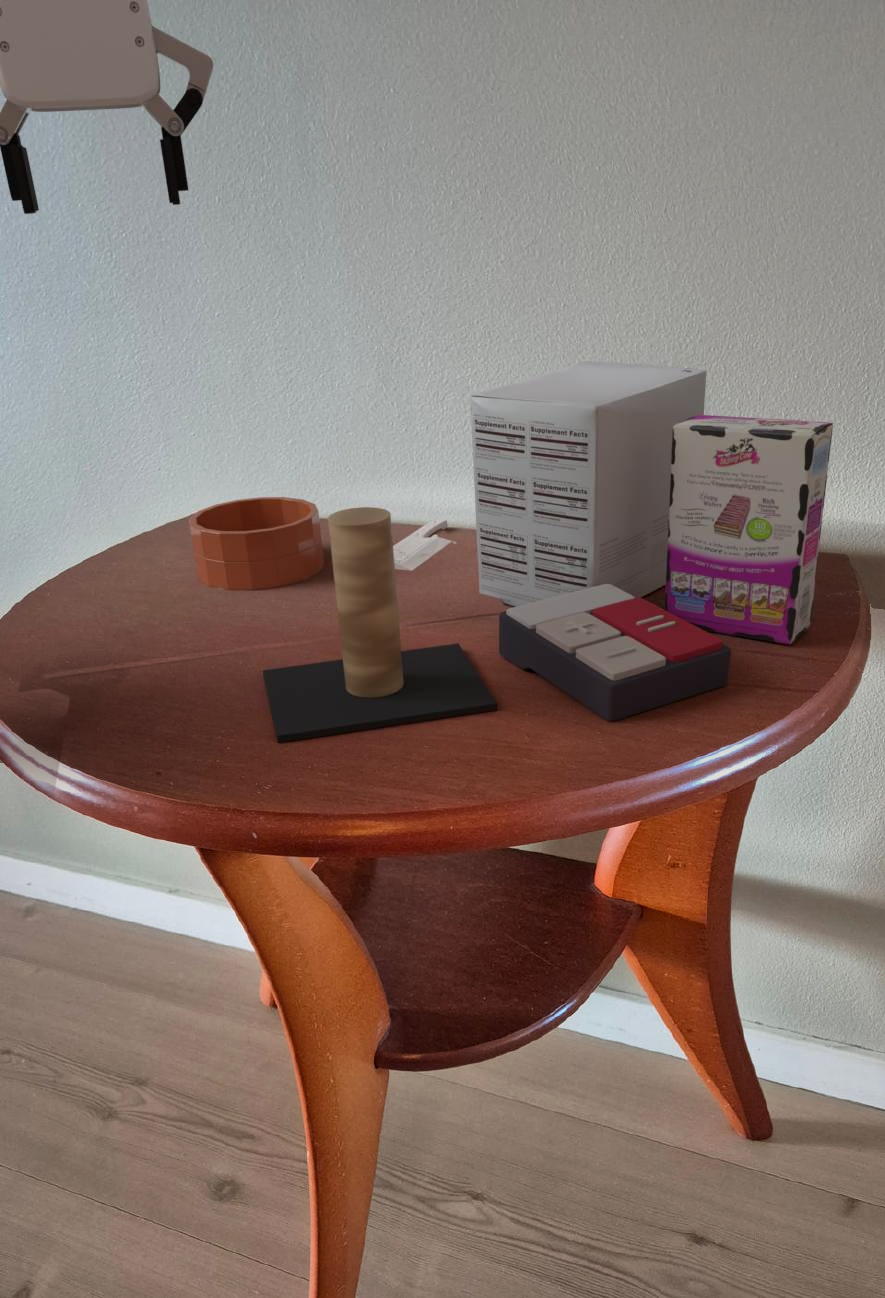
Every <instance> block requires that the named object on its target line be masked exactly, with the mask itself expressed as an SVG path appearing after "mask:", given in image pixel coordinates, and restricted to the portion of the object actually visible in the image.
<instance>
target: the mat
mask: <svg viewBox="0 0 885 1298" xmlns="http://www.w3.org/2000/svg"><path fill="white" fill-rule="evenodd" d="M401 654H402V667H403V680H404V684H403V687H402V688H401V689H400V690H399V691H397V692H395V693H393V694H390V695H387V696H383V697H375V698H365V697H358V696H355V695H352V694H350V693H349V692H348V691H347V690H346V685H345V676H344V666H343V658H342V659H334V660H327V661H321V662H312V663H306V664H299V665H292V666H285V667H283V666H282V667H275V668H270V669H263V670H262V675H263V681H264V685H265V690H266V694H267V700H268V704H269V708H270V714H271V717H272V722H273V728H274V732H275V736H276V742H277V744H279V743H280V744H281V743H286V742H287V743H288V742H293V741H301V740H306V739H312V738H313V739H314V738H320V737H327V736H333V735H341V734H347V733H353V732H358V731H359V732H360V731H366V730H367V731H368V730H373V729H380V728H386V727H387V728H388V727H394V726H400V725H406V724H413V723H419V722H426V721H433V720H440V719H447V718H454V717H460V716H467V715H474V714H480V713H486V712H492V711H493V712H495V711H498V708H499V707H498V702H497V700H496V698H495V696H493V694H492V693H491V691H490V690H489V688H488V686H487V685H486V684H485V682H484V680H483V679H482V677H481V676H480V674H479V672H478V671H477V670H476V668H475V667H474V665H473V663H472V662H471V660H470V659H469V657H468V656H467V654H466V653H465V651H464V649H463V648H462V647H461V645H460V643H450V644H444V645H436V646H429V647H421V648H415V649H414V648H413V649H408V650H407V649H406V650H401Z"/></svg>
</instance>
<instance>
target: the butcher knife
mask: <svg viewBox="0 0 885 1298" xmlns="http://www.w3.org/2000/svg"><path fill="white" fill-rule="evenodd" d="M447 528H448V520H447V519H441V518H440V519H439V518H433V519H431V520H430V521H429V522H427V523H426V524H424V525H423V526H421V527H420V528H418V529H417V530H415V531H414V532H412V533H411V534H409V535H408V536H406V537H405V538H403V539H402V540H400V541H398V542H397V543H395V544H394V545H393V552H394V565H395V570H400V571H402V570H403V571H411V572H412V571H413V570H415V569H416V568H418V567H419V566H420V565H422V564H423V563H425V562H426V561H428V559H430V558H432V557H433V556H434V555H436V554H437V553H438V552H440V551H441V550H442V549H444V548H445V547H446V546H448V545H449V544H451V543H453V544H454V545H457V544H458V542H457V541H454V540H451V539H447V538H444V537H439V535H438V534H434V533H435V532H437V531H438V530H439V531H440V529H441V530H442V531H443V530H445V529H447ZM432 534H433V535H432ZM431 535H432V536H431Z"/></svg>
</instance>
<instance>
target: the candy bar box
mask: <svg viewBox="0 0 885 1298" xmlns="http://www.w3.org/2000/svg"><path fill="white" fill-rule="evenodd" d="M833 427H834V423H833V422H827V421H810V420H809V421H808V420H798V419H785V418H784V419H781V418H763V417H747V416H746V417H744V416H727V415H712V414H711V415H709V414H704V415H696V416H693V417H691V418H688V419H686V420H685V421H683V422H680V423H678V424H676V425H674V426H673V431H672V450H671V481H670V503H669V522H668V547H667V569H666V585H665V589H664V590H665V593H664V609H663V610H665V611H667V612H669V613H671V614H673V615H675V616H677V617H679V618H681V619H683V620H685V621H687V622H688V623H690V624H692V625H694V626H696V627H698V628H700V629H702V630H704V631H706V632H711V633H717V634H723V635H728V636H734V637H735V636H736V637H739V638H740V637H741V638H747V639H752V640H753V639H754V640H758V641H764V642H770V643H776V644H782V645H788V646H789V645H792V644H794V642H796V640H798V638H799V637H800V636H802V635H803V634H804V633H805V632H806V631H807V630H808V629H809V628H810V627H811V622H812V616H813V608H814V607H813V606H814V597H815V589H816V588H815V587H816V580H817V579H816V578H817V572H818V571H817V570H818V561H819V552H820V551H819V550H820V544H821V543H820V542H821V536H822V535H821V534H822V524H823V515H824V507H825V498H826V492H827V491H826V490H827V482H828V481H827V480H828V472H829V464H830V463H829V462H830V456H831V455H830V454H831V446H832V445H831V444H832V437H833Z"/></svg>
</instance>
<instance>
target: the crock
mask: <svg viewBox="0 0 885 1298" xmlns="http://www.w3.org/2000/svg"><path fill="white" fill-rule="evenodd" d="M188 521H189V522H188V523H189V529H190V536H191V541H192V547H193V552H194V553H193V554H194V559H195V564H196V571H197V577H198V581H199V582H201V583H202V584H204V585H206V586H208V587H211V588H214V589H219V590H225V591H226V590H227V591H241V592H242V591H259V590H269V589H275V588H281V587H287V586H291V585H293V584H297V583H300V582H303V581H306V580H308V579H310V578H313V576H315V575H317V574H319V572H320V571H321V570H322V569H323V567H324V566H325V559H324V549H323V541H322V532H321V522H320V521H321V520H320V514H319V509H318V507H317V504H315V503H314V502H310V501H308V500H306V499H302V498H295V497H288V496H287V497H286V496H261V497H251V498H243V499H242V498H241V499H235V500H231V501H227V502H221V503H216V504H214V505H211V506H208V507H206V508H203V509H201V510H198V511H197V512H195V513H194V514H193V515H192V516H190V517H189V518H188Z"/></svg>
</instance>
